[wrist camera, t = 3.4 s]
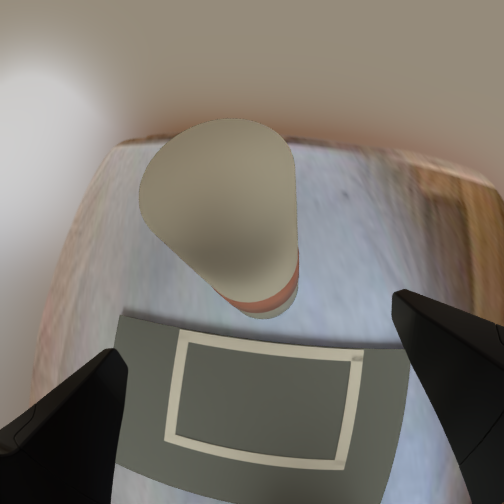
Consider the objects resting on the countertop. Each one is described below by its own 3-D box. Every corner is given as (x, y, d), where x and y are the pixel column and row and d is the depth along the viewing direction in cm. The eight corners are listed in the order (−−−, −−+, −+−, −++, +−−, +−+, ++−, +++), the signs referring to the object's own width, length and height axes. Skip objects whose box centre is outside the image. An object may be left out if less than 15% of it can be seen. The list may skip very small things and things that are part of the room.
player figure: (301, 254, 21) (299, 116, 9) (295, 323, 19) (289, 258, 7) (234, 249, 22) (164, 123, 10) (223, 315, 20) (118, 244, 8)
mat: (408, 349, 17) (412, 348, 16) (376, 506, 12) (378, 510, 11) (123, 316, 21) (119, 314, 20) (107, 455, 16) (102, 457, 16)
